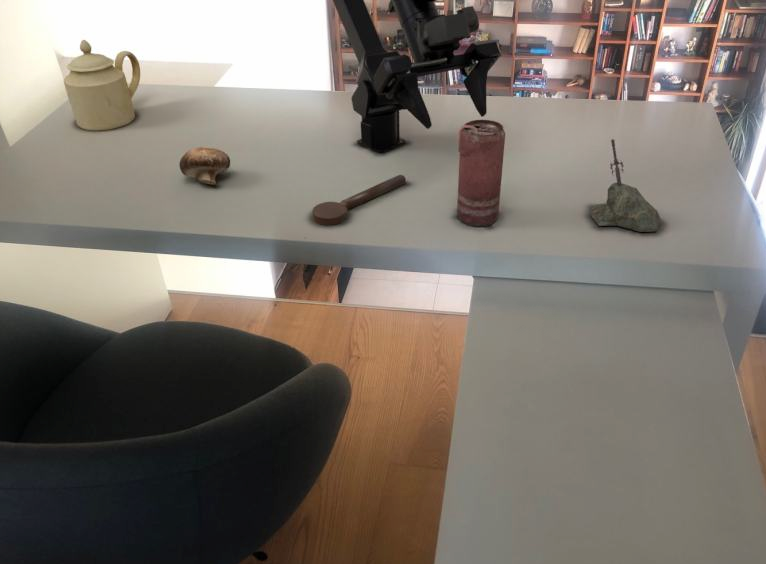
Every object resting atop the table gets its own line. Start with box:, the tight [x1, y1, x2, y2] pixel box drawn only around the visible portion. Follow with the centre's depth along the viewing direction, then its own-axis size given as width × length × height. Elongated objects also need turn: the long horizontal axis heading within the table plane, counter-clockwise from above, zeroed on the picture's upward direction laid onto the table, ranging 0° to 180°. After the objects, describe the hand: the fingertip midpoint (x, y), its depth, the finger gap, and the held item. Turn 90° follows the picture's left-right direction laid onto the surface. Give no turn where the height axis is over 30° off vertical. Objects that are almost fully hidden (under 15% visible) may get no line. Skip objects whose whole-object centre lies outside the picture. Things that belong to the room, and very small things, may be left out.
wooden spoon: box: [311, 174, 407, 226], centre depth 107 cm, size 18×5×2 cm, turn 135°
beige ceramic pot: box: [63, 39, 141, 131], centre depth 133 cm, size 15×11×15 cm
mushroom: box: [178, 146, 231, 186], centre depth 113 cm, size 8×8×6 cm
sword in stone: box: [590, 138, 662, 233], centre depth 99 cm, size 10×8×12 cm
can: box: [456, 119, 506, 228], centre depth 99 cm, size 6×6×14 cm
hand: (457, 121), depth 100 cm, fingers open, 9 cm apart
